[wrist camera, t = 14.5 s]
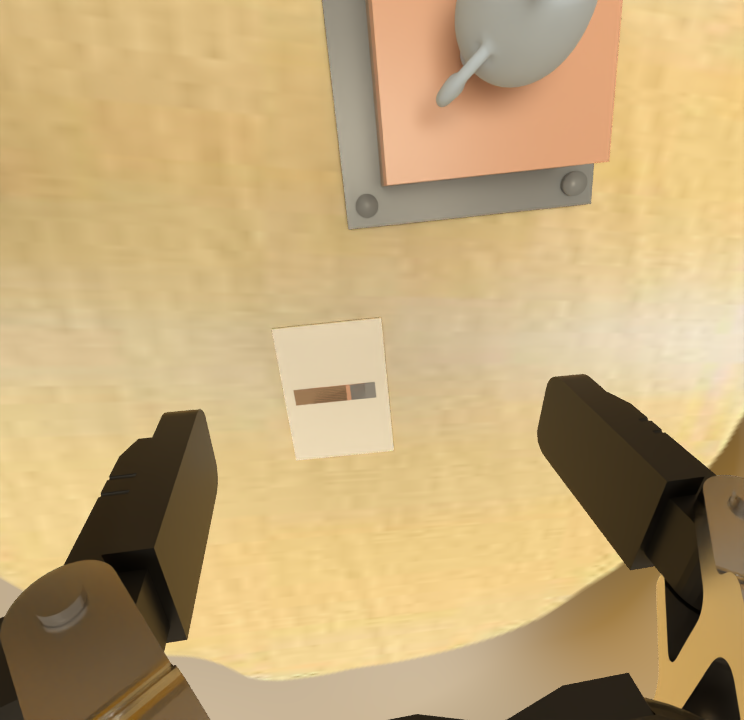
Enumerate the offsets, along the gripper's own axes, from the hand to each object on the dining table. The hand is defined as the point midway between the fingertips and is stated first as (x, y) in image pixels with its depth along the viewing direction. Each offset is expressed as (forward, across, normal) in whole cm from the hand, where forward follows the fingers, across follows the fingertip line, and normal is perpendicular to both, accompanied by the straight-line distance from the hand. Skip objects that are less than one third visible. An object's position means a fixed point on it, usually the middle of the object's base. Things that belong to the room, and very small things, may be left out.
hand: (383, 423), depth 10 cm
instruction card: (+28, -1, +17) cm, 33 cm away
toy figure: (+21, -10, -10) cm, 26 cm away
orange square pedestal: (+30, -12, -9) cm, 33 cm away
